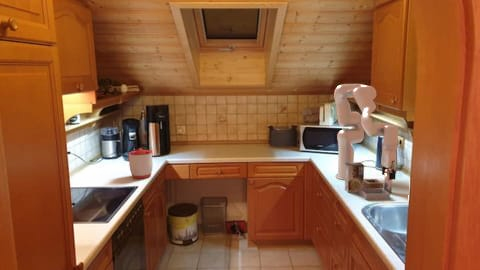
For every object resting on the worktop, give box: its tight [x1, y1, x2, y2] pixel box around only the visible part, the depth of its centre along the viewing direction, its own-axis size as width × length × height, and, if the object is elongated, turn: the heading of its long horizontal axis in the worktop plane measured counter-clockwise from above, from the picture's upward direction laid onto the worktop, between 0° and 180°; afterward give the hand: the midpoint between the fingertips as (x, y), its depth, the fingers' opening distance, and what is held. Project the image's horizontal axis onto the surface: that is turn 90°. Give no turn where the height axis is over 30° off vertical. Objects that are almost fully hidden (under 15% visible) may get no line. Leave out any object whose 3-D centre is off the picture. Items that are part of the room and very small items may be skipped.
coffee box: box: [344, 161, 365, 194], centre depth 216 cm, size 9×6×16 cm
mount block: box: [363, 178, 384, 189], centre depth 219 cm, size 9×9×5 cm
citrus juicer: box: [125, 147, 153, 179], centre depth 254 cm, size 16×17×20 cm
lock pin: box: [383, 168, 393, 194], centre depth 212 cm, size 4×4×13 cm
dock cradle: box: [358, 187, 391, 201], centre depth 206 cm, size 10×13×3 cm
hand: (388, 177), depth 212 cm, fingers open, 9 cm apart
